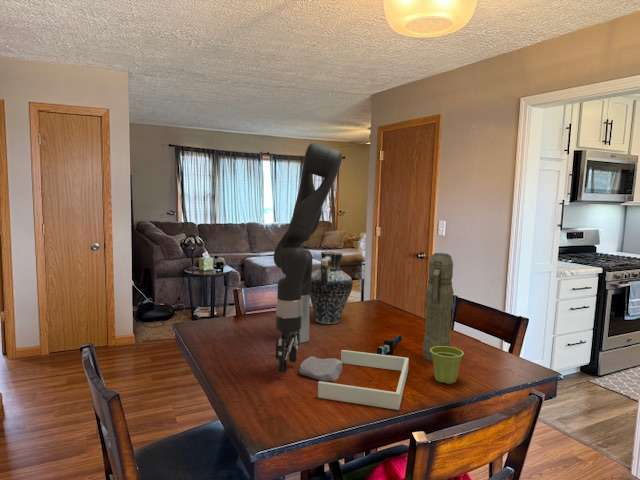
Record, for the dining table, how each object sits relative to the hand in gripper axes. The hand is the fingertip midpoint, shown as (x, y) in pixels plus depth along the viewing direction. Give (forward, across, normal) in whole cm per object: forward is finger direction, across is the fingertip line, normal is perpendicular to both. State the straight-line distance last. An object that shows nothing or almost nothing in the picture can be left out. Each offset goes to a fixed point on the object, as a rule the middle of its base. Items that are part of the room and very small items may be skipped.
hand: (287, 366), depth 131 cm
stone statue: (+2, -28, +42) cm, 51 cm away
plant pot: (+2, -10, +45) cm, 46 cm away
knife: (+2, -30, +27) cm, 41 cm away
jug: (+2, -57, -3) cm, 57 cm away
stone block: (+2, -2, +10) cm, 10 cm away
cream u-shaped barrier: (+2, 0, +23) cm, 23 cm away
